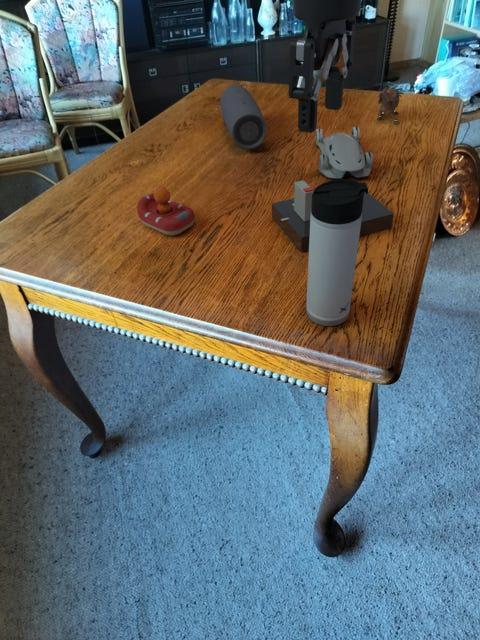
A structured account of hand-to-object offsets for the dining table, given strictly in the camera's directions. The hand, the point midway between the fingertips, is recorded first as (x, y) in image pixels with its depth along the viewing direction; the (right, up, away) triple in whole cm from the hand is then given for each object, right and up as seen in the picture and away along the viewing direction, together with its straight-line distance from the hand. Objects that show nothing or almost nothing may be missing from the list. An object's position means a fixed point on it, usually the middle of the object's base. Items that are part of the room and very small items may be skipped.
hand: (320, 119), depth 61 cm
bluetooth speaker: (-10, +21, +59) cm, 64 cm away
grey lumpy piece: (+13, +10, +46) cm, 48 cm away
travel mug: (+3, -25, +8) cm, 27 cm away
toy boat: (-25, -8, +30) cm, 39 cm away
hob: (+6, -8, +26) cm, 28 cm away
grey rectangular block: (+1, -7, +23) cm, 24 cm away
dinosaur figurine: (+29, +27, +63) cm, 74 cm away
